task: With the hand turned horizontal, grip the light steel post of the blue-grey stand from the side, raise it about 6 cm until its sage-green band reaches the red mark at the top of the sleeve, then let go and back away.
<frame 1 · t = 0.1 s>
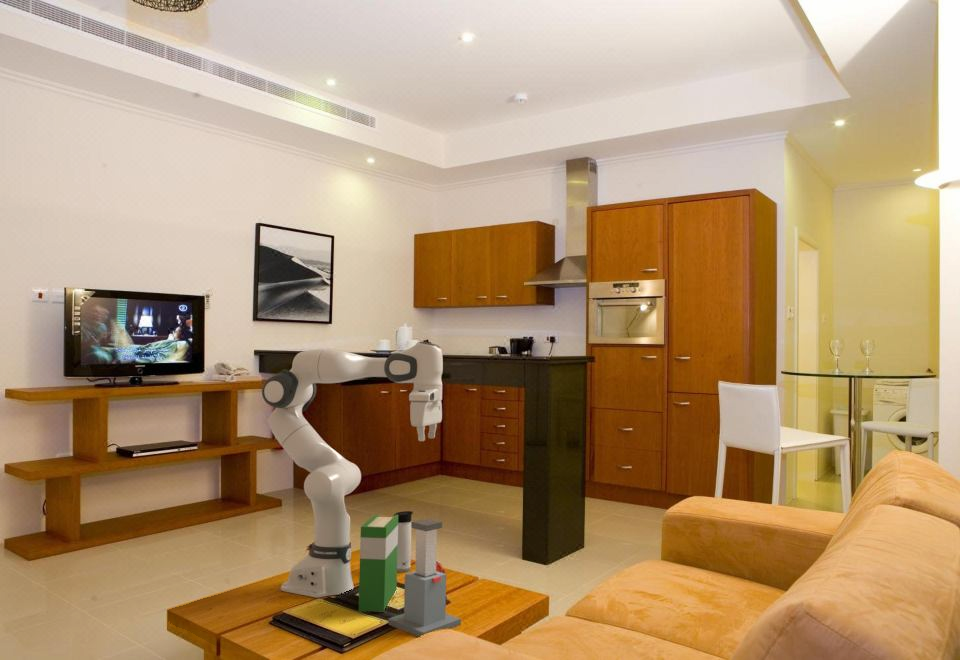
hand: (426, 439, 211), 48 cm above the table, tool pointing down, fingers open, 8 cm apart
travel mug: (401, 570, 238), on the table
stand sleeve: (424, 624, 188), on the table
dragon fruit: (431, 585, 222), on the table
hardback book: (378, 602, 205), on the table
steel column: (425, 569, 188), point 15 cm above the table, slide at 0.0 cm
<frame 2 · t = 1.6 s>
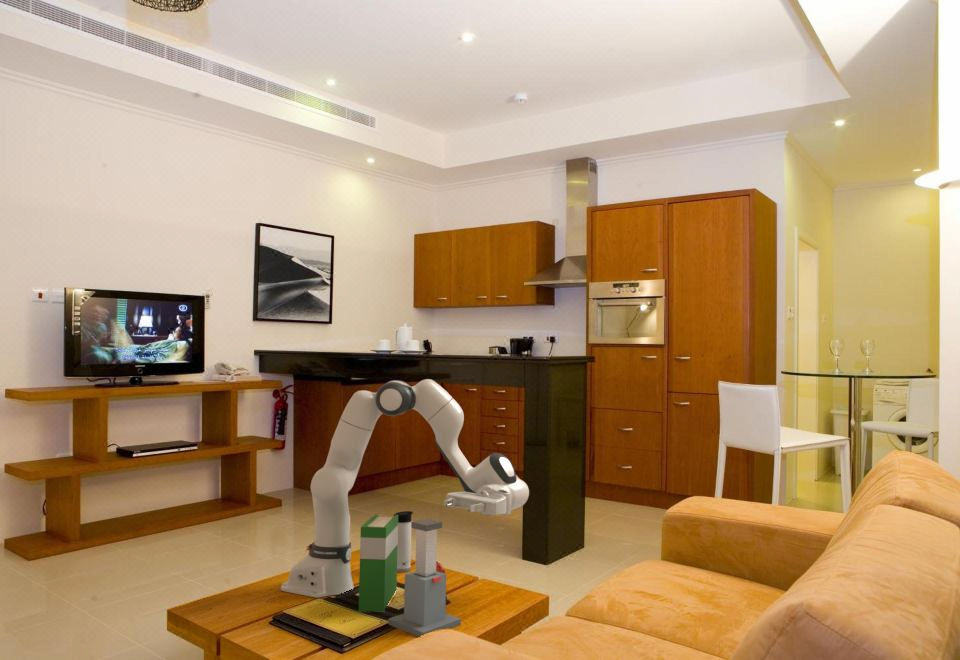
hand: (457, 506, 198), 30 cm above the table, tool horizontal, fingers open, 8 cm apart
nothing on the table moved.
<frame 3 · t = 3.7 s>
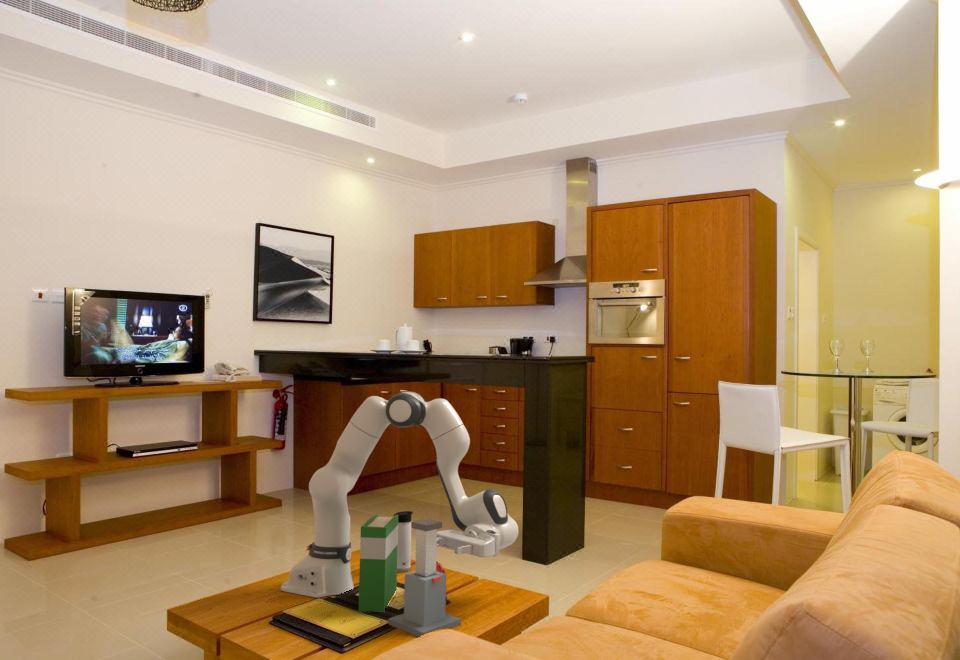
hand: (444, 547, 194), 19 cm above the table, tool horizontal, fingers open, 8 cm apart
nothing on the table moved.
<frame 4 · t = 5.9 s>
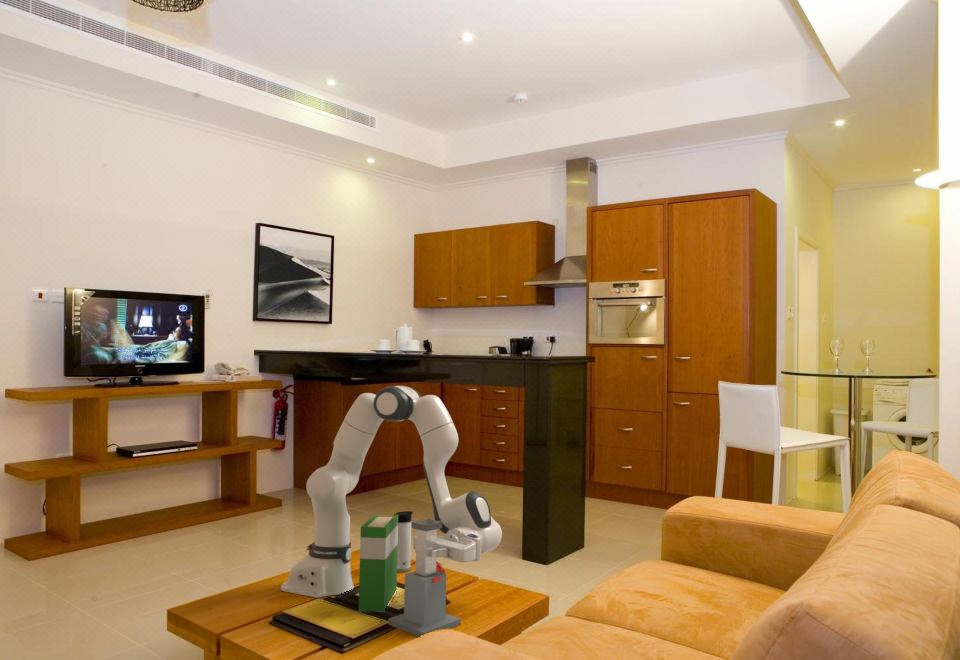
hand: (423, 552, 188), 20 cm above the table, tool horizontal, fingers closed on steel column, 4 cm apart
steel column: (425, 569, 188), point 15 cm above the table, slide at 0.0 cm, touching gripper
everything else where it was.
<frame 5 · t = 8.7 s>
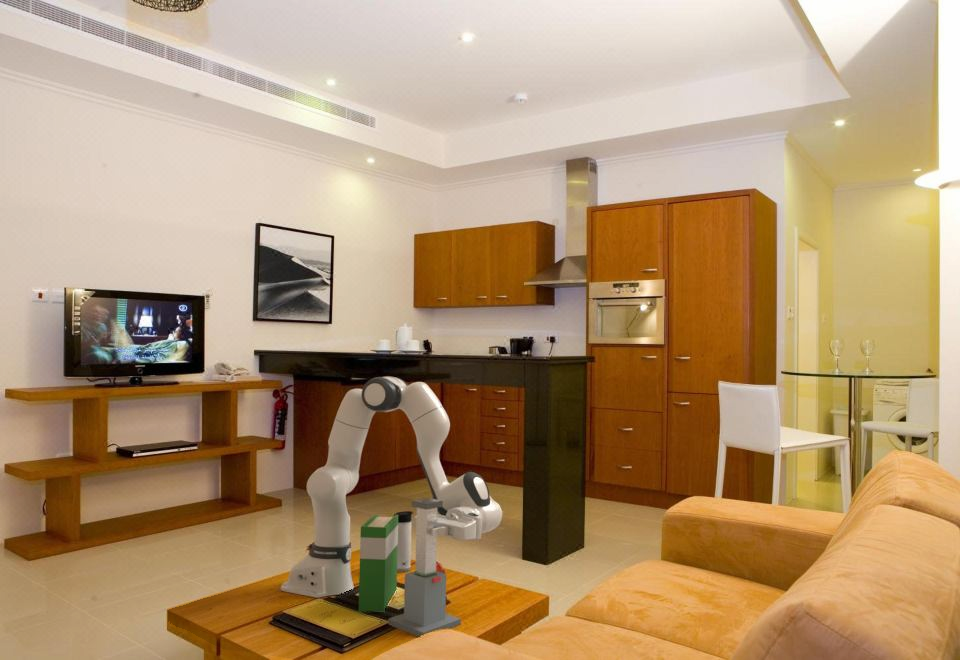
hand: (424, 530, 188), 25 cm above the table, tool horizontal, fingers closed on steel column, 4 cm apart
steel column: (426, 547, 189), point 21 cm above the table, slide at 5.8 cm, touching gripper
everything else where it was.
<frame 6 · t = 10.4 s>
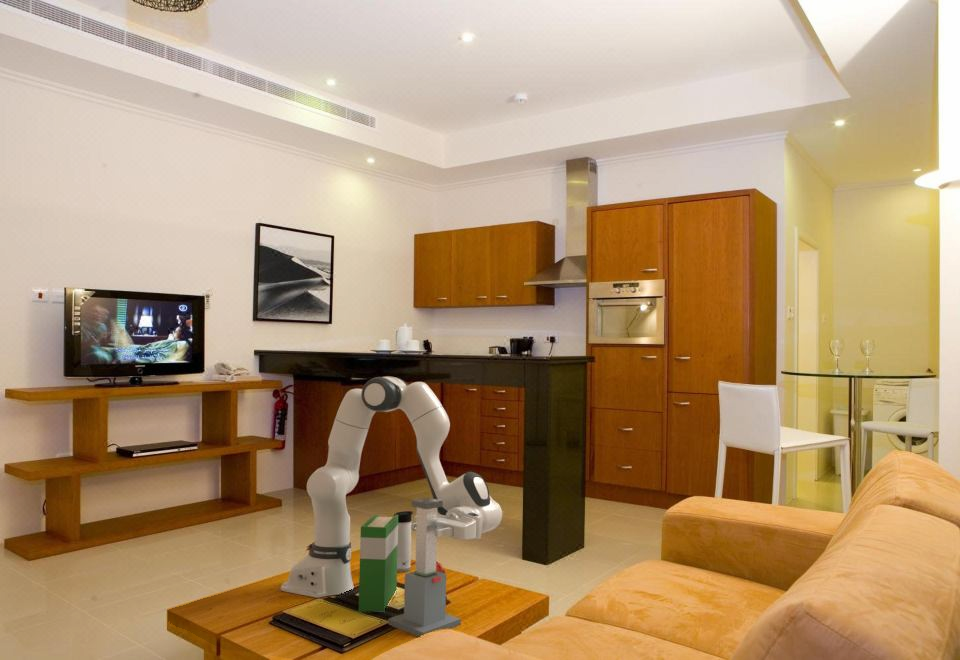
hand: (424, 530, 188), 25 cm above the table, tool horizontal, fingers open, 8 cm apart
steel column: (426, 547, 189), point 21 cm above the table, slide at 5.8 cm
everything else where it was.
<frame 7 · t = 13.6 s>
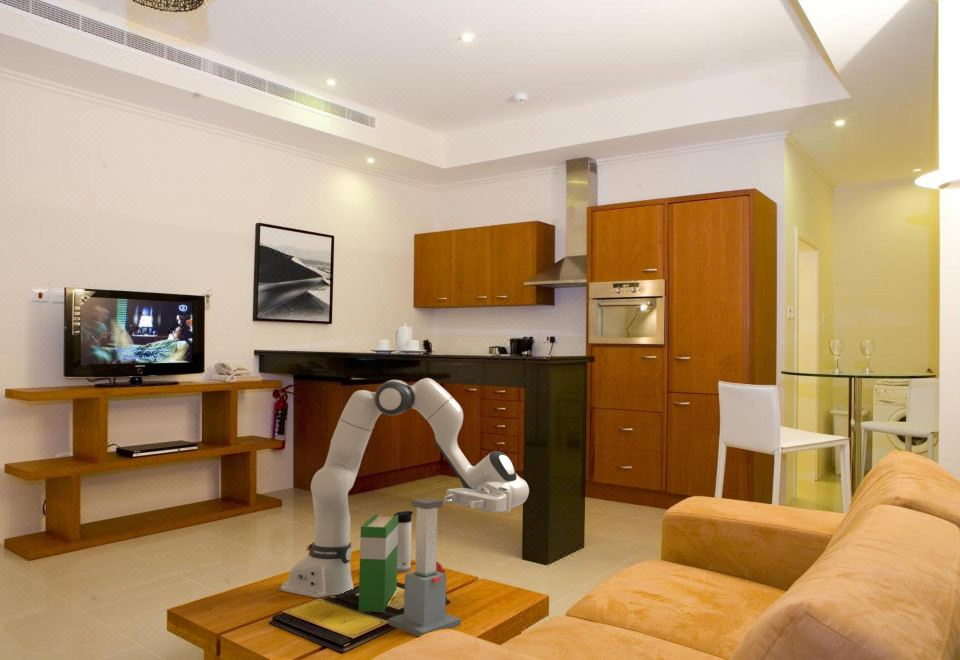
hand: (457, 502, 198), 31 cm above the table, tool horizontal, fingers open, 8 cm apart
nothing on the table moved.
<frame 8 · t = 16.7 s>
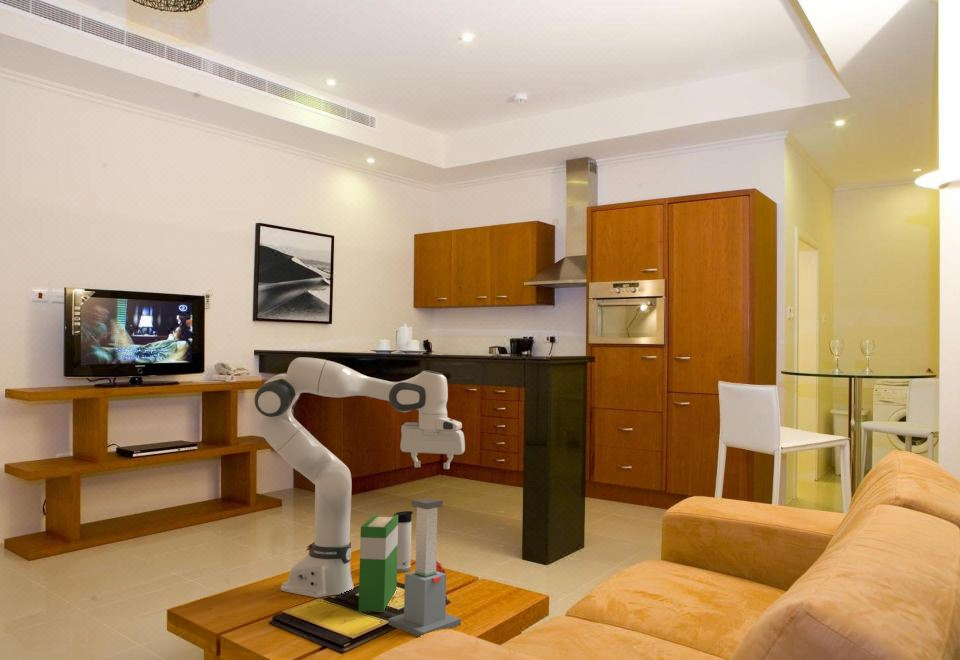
hand: (431, 467, 213), 39 cm above the table, tool pointing down, fingers open, 8 cm apart
nothing on the table moved.
at the end: steel column slide at 5.8 cm; the gripper is holding nothing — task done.
